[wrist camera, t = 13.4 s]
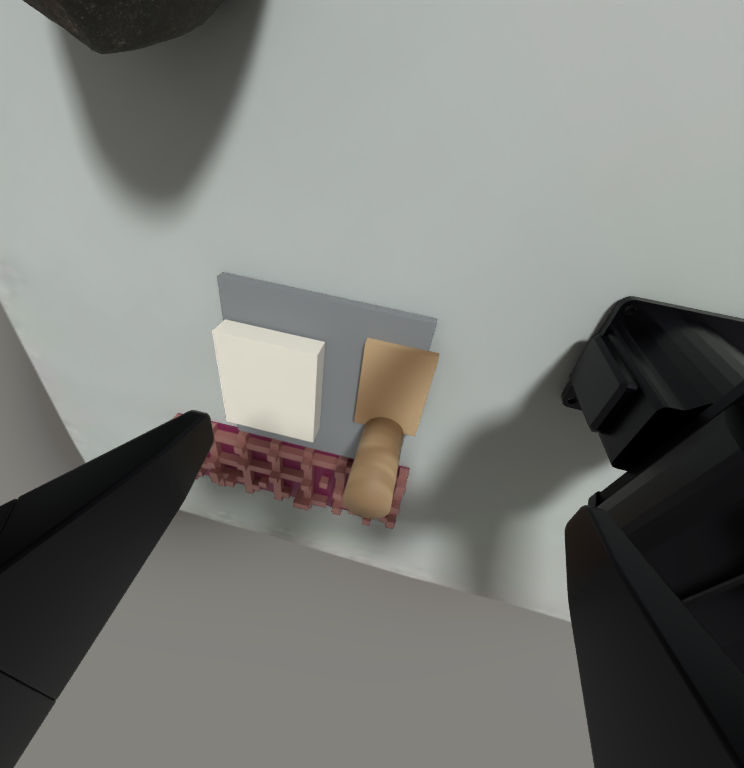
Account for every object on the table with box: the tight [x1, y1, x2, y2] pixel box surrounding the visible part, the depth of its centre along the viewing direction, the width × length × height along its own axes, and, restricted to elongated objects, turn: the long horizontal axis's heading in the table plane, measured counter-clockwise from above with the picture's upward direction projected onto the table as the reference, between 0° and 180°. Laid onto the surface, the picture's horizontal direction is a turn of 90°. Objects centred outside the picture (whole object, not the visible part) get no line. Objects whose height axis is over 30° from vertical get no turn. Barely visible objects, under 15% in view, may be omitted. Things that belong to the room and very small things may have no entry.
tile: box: [212, 319, 325, 442], centre depth 22 cm, size 2×7×6 cm
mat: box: [217, 272, 437, 459], centre depth 23 cm, size 12×12×1 cm
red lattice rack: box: [173, 413, 409, 529], centre depth 29 cm, size 7×19×2 cm, turn 83°
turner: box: [342, 338, 439, 519], centre depth 20 cm, size 4×8×6 cm, turn 172°
